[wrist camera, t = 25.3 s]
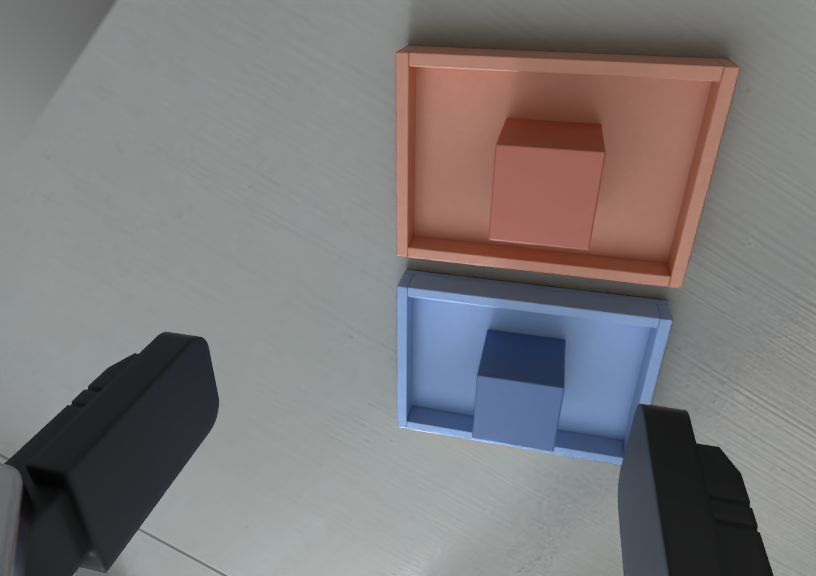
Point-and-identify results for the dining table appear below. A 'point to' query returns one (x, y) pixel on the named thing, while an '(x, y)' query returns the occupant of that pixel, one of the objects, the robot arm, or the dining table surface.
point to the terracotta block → (546, 182)
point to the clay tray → (567, 102)
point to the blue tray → (533, 315)
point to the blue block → (519, 390)
